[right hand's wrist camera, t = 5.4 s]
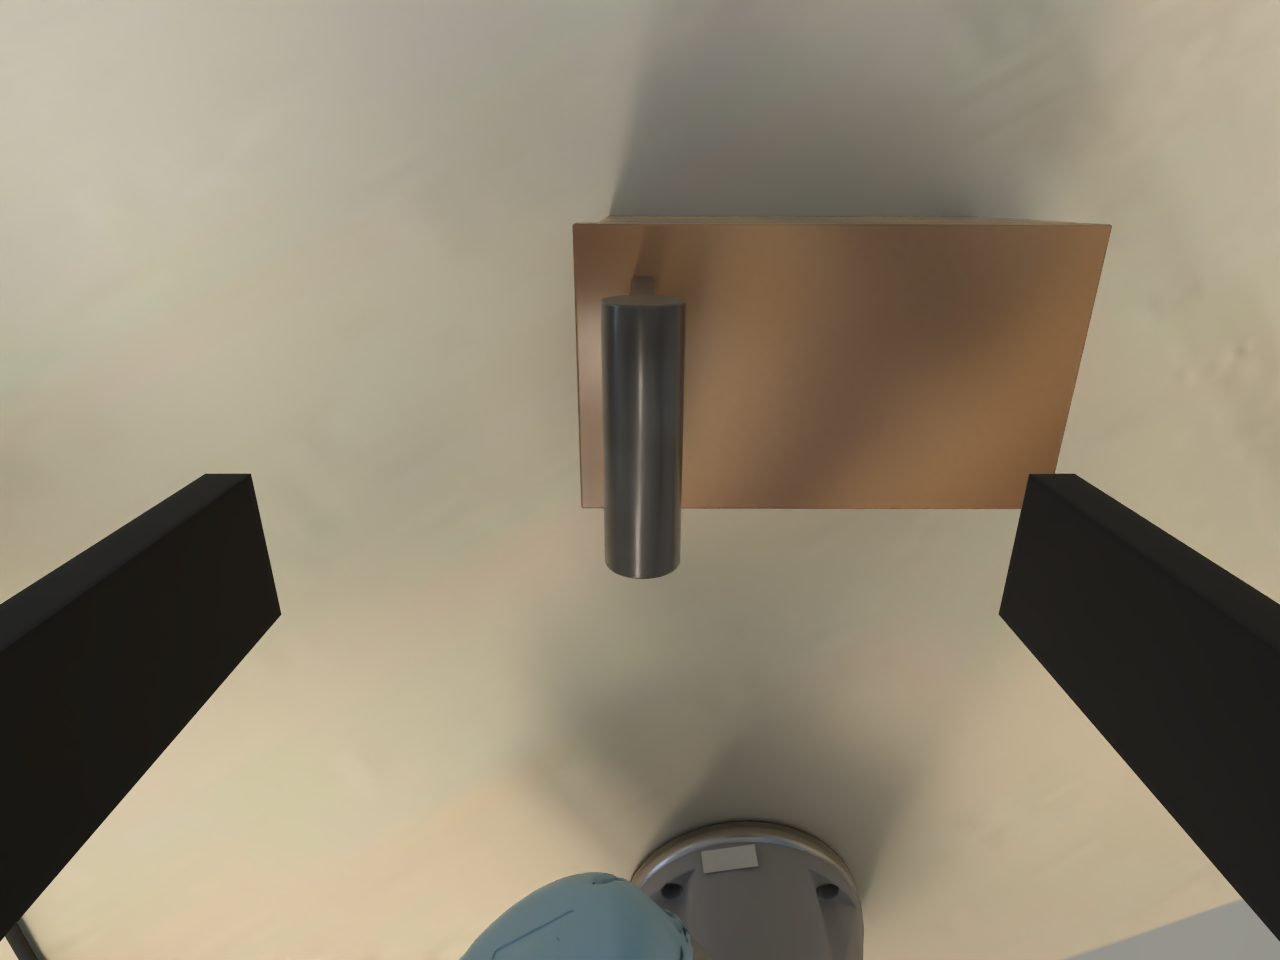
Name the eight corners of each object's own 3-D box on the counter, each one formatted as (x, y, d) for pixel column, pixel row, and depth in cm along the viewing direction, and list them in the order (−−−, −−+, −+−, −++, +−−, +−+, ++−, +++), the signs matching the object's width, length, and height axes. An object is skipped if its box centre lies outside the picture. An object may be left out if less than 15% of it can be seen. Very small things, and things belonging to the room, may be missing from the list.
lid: (583, 497, 27) (559, 627, 19) (574, 222, 23) (540, 236, 15) (1032, 498, 27) (1202, 628, 19) (1094, 223, 23) (1336, 237, 15)
